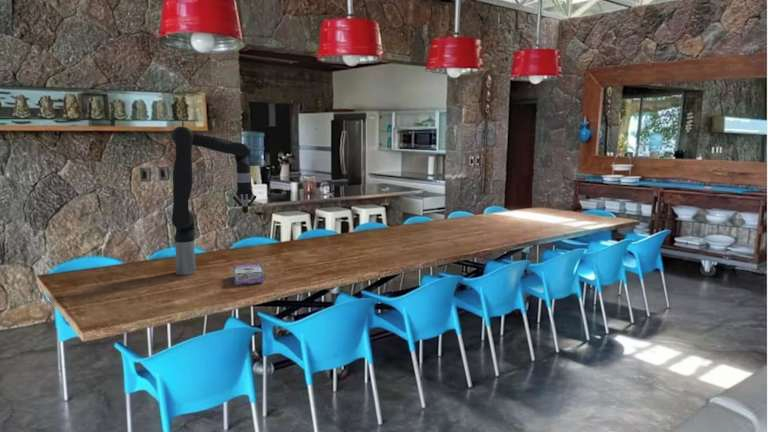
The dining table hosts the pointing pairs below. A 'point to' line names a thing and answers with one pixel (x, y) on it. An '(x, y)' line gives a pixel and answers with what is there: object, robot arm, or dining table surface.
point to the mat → (231, 279)
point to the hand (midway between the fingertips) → (245, 213)
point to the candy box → (248, 274)
